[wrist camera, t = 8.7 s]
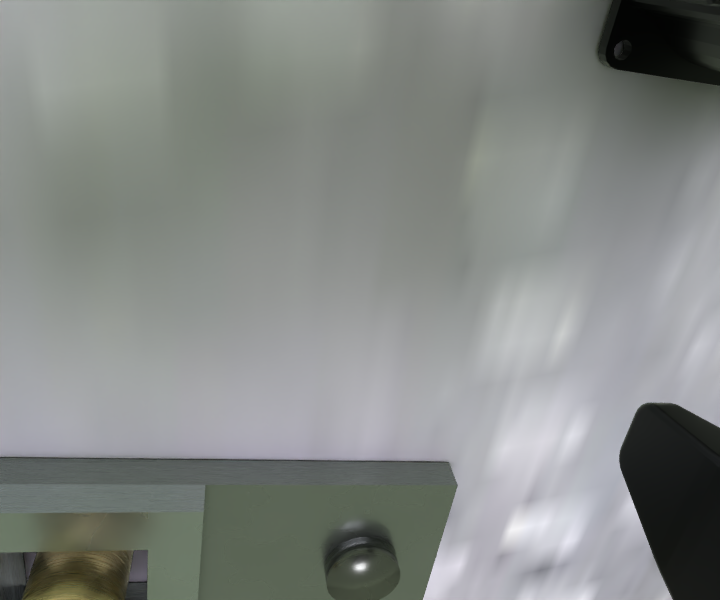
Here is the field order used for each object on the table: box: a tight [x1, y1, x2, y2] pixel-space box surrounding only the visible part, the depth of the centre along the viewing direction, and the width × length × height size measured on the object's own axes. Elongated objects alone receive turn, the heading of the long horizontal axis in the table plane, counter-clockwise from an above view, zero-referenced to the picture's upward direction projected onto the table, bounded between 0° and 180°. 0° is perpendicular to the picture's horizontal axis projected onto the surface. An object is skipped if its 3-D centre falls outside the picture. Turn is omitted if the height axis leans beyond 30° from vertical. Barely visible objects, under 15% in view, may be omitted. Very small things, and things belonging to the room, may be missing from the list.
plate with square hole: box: [0, 458, 458, 600], centre depth 23 cm, size 26×8×3 cm, turn 81°
